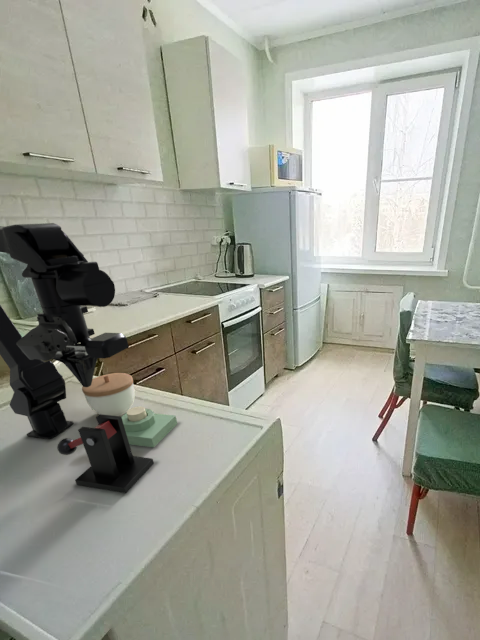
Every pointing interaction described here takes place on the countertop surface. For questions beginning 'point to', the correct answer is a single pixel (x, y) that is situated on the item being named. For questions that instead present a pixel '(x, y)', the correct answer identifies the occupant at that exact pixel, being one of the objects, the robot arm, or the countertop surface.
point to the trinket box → (110, 394)
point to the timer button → (136, 414)
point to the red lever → (70, 445)
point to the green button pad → (148, 428)
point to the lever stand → (110, 458)
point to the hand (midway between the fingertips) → (87, 386)
